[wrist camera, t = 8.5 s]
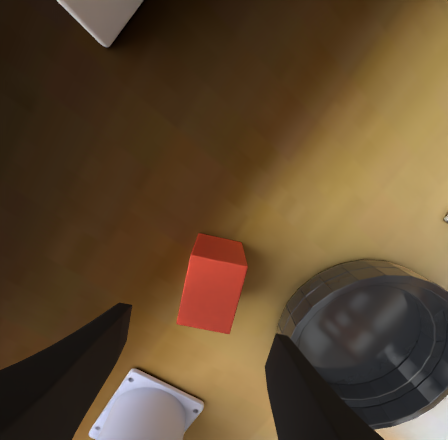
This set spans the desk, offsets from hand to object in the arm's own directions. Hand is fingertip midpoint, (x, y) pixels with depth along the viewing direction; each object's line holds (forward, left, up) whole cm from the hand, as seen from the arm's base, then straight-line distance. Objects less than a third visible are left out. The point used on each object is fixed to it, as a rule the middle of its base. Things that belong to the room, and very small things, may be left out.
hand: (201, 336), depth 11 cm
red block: (0, 0, -8) cm, 8 cm away
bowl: (+2, -14, -8) cm, 16 cm away
